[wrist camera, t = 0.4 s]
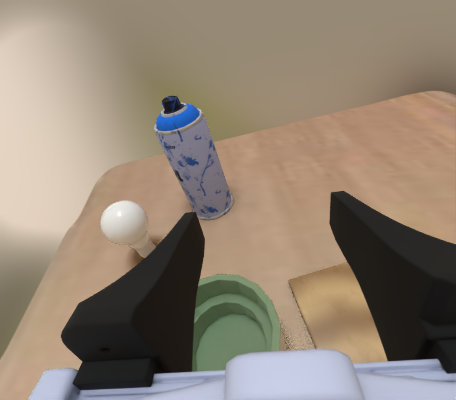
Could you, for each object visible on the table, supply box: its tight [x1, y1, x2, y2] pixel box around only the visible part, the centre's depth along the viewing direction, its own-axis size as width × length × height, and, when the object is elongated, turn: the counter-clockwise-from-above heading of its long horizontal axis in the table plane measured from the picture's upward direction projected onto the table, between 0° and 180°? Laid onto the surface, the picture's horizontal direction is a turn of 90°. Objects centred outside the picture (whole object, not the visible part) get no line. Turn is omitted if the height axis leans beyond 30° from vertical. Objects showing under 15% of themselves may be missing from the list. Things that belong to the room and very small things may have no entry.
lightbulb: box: [100, 201, 156, 258], centre depth 37 cm, size 6×6×11 cm
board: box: [289, 262, 388, 363], centre depth 25 cm, size 14×11×1 cm
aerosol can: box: [154, 96, 233, 220], centre depth 39 cm, size 8×8×20 cm
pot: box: [192, 274, 287, 372], centre depth 24 cm, size 11×11×7 cm
